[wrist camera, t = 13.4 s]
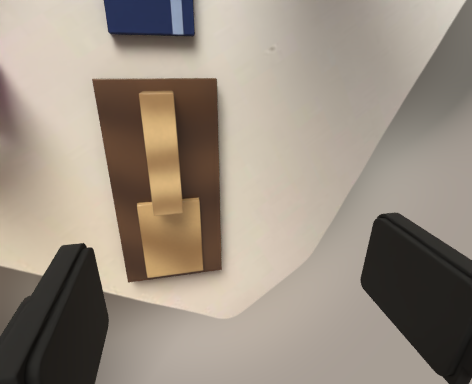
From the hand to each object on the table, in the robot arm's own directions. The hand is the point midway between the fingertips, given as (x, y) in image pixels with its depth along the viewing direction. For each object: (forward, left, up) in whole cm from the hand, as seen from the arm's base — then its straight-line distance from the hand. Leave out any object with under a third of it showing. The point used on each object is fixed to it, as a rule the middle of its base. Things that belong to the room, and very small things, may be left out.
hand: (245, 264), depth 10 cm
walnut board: (+6, -3, -26) cm, 27 cm away
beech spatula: (+7, -3, -24) cm, 25 cm away
